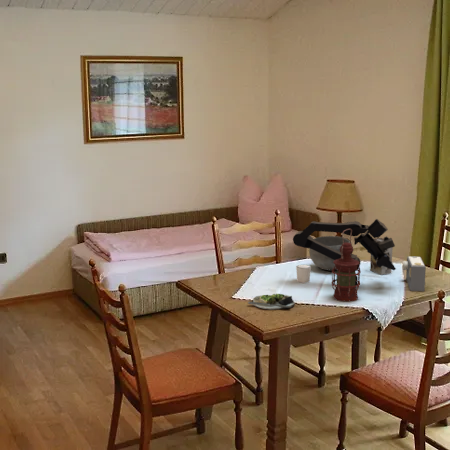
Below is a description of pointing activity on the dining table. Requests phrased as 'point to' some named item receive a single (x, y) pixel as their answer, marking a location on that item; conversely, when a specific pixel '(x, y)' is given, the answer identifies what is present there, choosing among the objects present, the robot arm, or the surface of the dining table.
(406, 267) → the cream button
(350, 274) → the lantern
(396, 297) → the dining table surface
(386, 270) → the coffee box
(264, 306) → the salad plate
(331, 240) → the bowl
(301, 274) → the white cup
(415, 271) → the console
